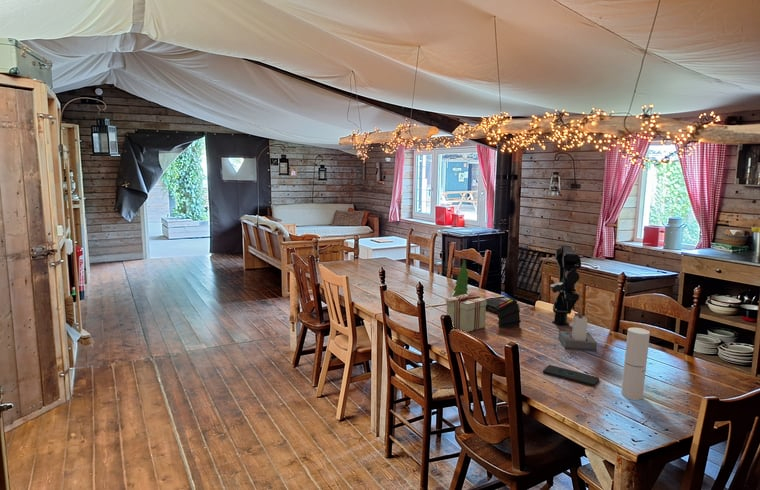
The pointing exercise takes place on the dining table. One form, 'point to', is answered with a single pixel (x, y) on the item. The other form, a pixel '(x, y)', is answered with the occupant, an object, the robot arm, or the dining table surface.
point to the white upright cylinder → (579, 328)
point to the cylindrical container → (635, 363)
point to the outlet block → (577, 342)
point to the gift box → (467, 311)
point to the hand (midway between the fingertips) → (566, 308)
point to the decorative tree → (461, 282)
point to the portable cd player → (494, 304)
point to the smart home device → (571, 375)
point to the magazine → (508, 314)
